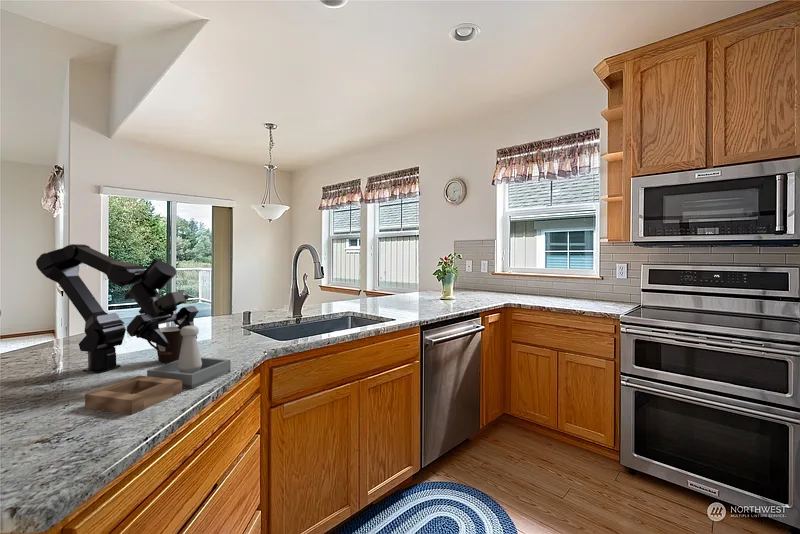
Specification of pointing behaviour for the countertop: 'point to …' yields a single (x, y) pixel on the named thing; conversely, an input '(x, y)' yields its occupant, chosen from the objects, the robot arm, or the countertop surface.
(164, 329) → the coffee mug
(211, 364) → the tray
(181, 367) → the salt shaker
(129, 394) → the socket block
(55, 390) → the countertop surface
